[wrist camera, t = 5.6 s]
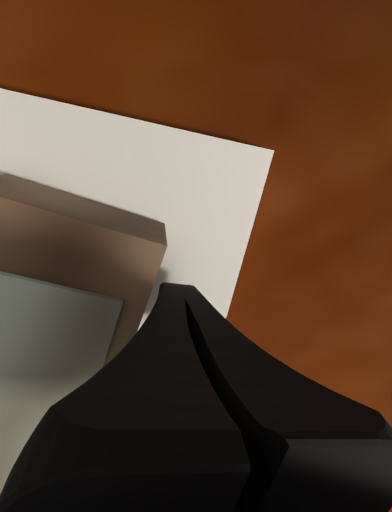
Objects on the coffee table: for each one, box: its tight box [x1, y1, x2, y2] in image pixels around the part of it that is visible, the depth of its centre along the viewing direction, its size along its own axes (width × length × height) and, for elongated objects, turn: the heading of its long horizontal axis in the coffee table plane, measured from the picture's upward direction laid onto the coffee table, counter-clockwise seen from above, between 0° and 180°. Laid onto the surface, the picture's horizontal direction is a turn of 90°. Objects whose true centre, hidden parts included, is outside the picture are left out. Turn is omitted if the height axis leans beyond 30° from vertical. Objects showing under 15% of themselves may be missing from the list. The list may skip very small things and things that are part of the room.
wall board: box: [0, 88, 274, 330], centre depth 12 cm, size 16×20×1 cm
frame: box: [0, 174, 167, 494], centre depth 10 cm, size 5×15×3 cm, turn 159°
